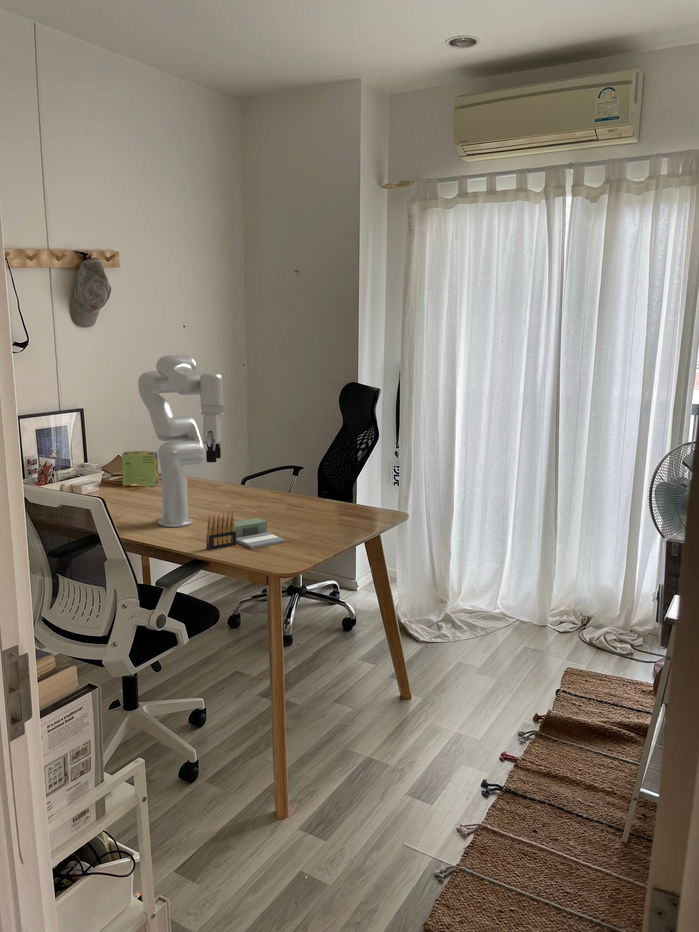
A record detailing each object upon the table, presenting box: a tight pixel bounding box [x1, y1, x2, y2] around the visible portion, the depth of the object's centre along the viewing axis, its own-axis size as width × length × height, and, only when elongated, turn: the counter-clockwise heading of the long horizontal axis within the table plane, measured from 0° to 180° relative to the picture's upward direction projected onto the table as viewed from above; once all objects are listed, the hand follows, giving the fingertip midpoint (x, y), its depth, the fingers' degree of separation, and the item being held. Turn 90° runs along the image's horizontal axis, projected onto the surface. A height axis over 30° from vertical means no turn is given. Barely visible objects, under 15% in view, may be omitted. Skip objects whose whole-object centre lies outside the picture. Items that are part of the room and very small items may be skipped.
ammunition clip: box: [205, 511, 237, 551], centre depth 252 cm, size 11×2×12 cm, turn 128°
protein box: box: [121, 450, 160, 487], centre depth 346 cm, size 10×15×16 cm
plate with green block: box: [235, 517, 286, 550], centre depth 262 cm, size 18×14×5 cm
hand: (213, 460), depth 252 cm, fingers open, 9 cm apart
